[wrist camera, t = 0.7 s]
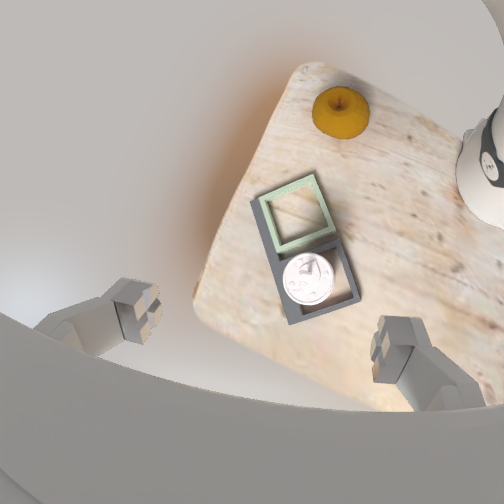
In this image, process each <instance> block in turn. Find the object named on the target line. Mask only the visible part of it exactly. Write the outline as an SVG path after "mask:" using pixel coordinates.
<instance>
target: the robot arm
mask: <svg viewBox="0 0 504 504" xmlns="http://www.w3.org/2000/svg"><path fill="white" fill-rule="evenodd" d="M482 1H483V2H484V4H485V5H486V7H487V8H488V10H489V11H490V13H491V15H492V16H493V18H494V21H495V23H496V25H497V27H498V29H499V32H500V35H501V37H502V40H503V44H504V0H482ZM456 179H457V184H458V188H459V191H460V194H461V196H462V198H463V200H464V202H465V203H466V205H467V206H468V208H469V209H470V210H471V211H472V212H473V213H474V214H475V215H476V216H477V217H478V218H479V219H481V220H482V221H484V222H486V223H488V224H490V225H494V226H497V227H500V228H502V229H503V230H504V96H503V98H502V101H501V103H500V106H499V107H498V108H497V109H495V110H494V111H493V113H492V114H491V115H490V116H489V118H488V119H486V120H485V119H482V120H481V121H480V122H479V123H478V125H477V127H476V128H475V129H472V130H467V131H466V132H465V133H464V136H463V150H462V152H461V154H460V156H459V158H458V161H457V166H456ZM159 294H160V293H159V288H158V286H157V285H156V284H154V283H149V282H145V281H140V280H135V279H130V278H125V277H124V278H121V279H119V280H118V281H117V282H116V283H115V284H114V285H113V286H112V287H111V288H110V289H109V290H108V291H107V292H105V293H104V294H103V295H102V296H101V297H100V298H99V297H96V298H93V299H90V300H87V301H84V302H82V303H79V304H76V305H73V306H70V307H68V308H65V309H62V310H59V311H56V312H53V313H50V314H48V315H47V316H46V317H45V318H44V319H43V320H42V321H41V322H40V323H39V324H38V325H37V326H36V327H34V328H33V329H31V328H29V327H27V326H25V325H23V324H21V323H19V322H17V321H15V320H14V319H12V318H10V317H8V316H6V315H4V314H2V313H0V504H504V404H499V405H492V406H486V404H485V401H484V398H483V396H482V393H481V390H480V387H479V384H478V383H477V382H476V381H475V380H474V379H473V378H472V377H470V376H469V375H468V374H467V373H466V372H465V371H463V370H462V369H461V368H460V367H459V366H458V365H456V364H455V363H454V362H453V361H452V360H451V359H449V358H448V357H447V356H446V355H445V354H444V353H442V352H441V351H440V350H439V349H438V348H436V347H432V345H431V342H430V339H429V337H428V334H427V331H426V329H425V326H424V323H423V321H422V319H421V318H420V317H400V316H387V315H381V317H380V318H379V321H378V324H377V325H378V330H379V331H377V332H376V333H375V334H374V336H373V339H372V343H371V350H370V355H371V360H372V361H373V362H374V365H373V367H372V372H373V381H374V383H387V384H396V386H397V388H398V389H399V390H400V392H401V393H402V394H403V396H404V397H405V398H406V400H407V401H408V402H409V404H410V405H411V406H412V408H413V409H414V410H415V412H366V411H346V410H332V409H321V408H311V407H303V406H295V405H286V404H280V403H273V402H267V401H261V400H255V399H249V398H244V397H238V396H233V395H228V394H223V393H219V392H213V391H210V390H205V389H201V388H197V387H193V386H189V385H185V384H181V383H177V382H174V381H170V380H166V379H163V378H159V377H156V376H152V375H149V374H146V373H143V372H140V371H136V370H133V369H130V368H127V367H124V366H121V365H118V364H115V363H113V362H110V361H107V360H104V359H102V358H99V357H98V356H99V355H101V354H103V353H105V352H106V351H108V350H110V349H112V348H113V347H115V346H117V345H118V344H120V343H122V342H124V340H127V341H131V342H135V343H139V344H142V345H143V344H144V343H145V342H146V340H147V339H148V337H149V336H150V335H151V332H150V329H152V328H154V327H156V326H157V325H158V323H159V322H160V319H161V315H162V306H161V303H160V301H159V300H158V299H157V297H158V295H159Z"/></svg>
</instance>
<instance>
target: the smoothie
mask: <svg viewBox="0 0 504 504" xmlns="http://www.w3.org/2000/svg"><path fill="white" fill-rule="evenodd" d="M334 284H335V275H334V270H333V268H332V266H331V264H330V263H329V262H328V261H327V259H325V258H324V257H322V256H321V255H318V254H315V253H302V254H299V255H297V256H295V257H294V258H293V259H291V260H290V261H289V263H288V264H287V266H286V267H285V270H284V273H283V285H284V289H285V291H286V293H287V294H288V296H289V297H290V298H291V299H292V300H294V301H295V302H297V303H300V304H303V305H314V304H318V303H320V302H322V301H324V300H325V299H326V298H327V297H328V296H329V295H330V293H331V292H332V290H333V287H334Z"/></svg>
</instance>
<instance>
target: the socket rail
mask: <svg viewBox="0 0 504 504" xmlns="http://www.w3.org/2000/svg"><path fill="white" fill-rule="evenodd" d="M309 184H312V186H313V188H314V191H315V193H316V196H317V198H318V201H319V203H320V206H321V208H322V211H323V213H324V216H325V218H326V221H327V224H328V226H329V227H327V228H324V229H322V230H319V231H317V232H314V233H312V234H309V235H307V236H304V237H302V238H299V239H297V240H294V241H292V242H289V243H287V244H284V245H282V244H281V241H280V238H279V235H278V232H277V229H276V226H275V223H274V220H273V217H272V214H271V211H270V208H269V206H268V202H270V201H272V200H275V199H277V198H279V197H281V196H284V195H286V194H288V193H291V192H293V191H295V190H298V189H300V188H302V187H305V186H307V185H309ZM250 204H251V207H252V210H253V213H254V216H255V219H256V223H257V226H258V229H259V232H260V235H261V238H262V241H263V244H264V248H265V251H266V254H267V257H268V260H269V263H270V266H271V270H272V273H273V276H274V279H275V282H276V285H277V289H278V292H279V295H280V298H281V301H282V305H283V308H284V311H285V314H286V318H287V321H288V324H289V325H292V324H295V323H298V322H301V321H304V320H308V319H311V318H314V317H317V316H320V315H323V314H326V313H329V312H332V311H335V310H337V309H340V308H343V307H346V306H349V305H352V304H354V303H357V302H360V301H361V299H360V296H359V293H358V290H357V287H356V284H355V281H354V278H353V275H352V272H351V269H350V266H349V264H348V261H347V258H346V255H345V252H344V250H343V247H342V244H341V242H340V239H336V240H334V241H331V242H329V243H326V244H324V245H321V246H318V247H316V248H313V249H311V250H308V251H306V252H303V253H315V254H320V253H323V252H325V251H328V250H330V249H333V248H337V250H338V253H339V256H340V259H341V262H342V264H343V267H344V270H345V273H346V276H347V279H348V282H349V285H350V288H351V291H352V294H353V297H354V298H352V299H349V300H346V301H344V302H341V303H338V304H335V305H332V306H329V307H326V308H323V309H320V310H318V311H315V312H312V313H309V314H305V315H304V312H303V308H302V305H301V304H300V303H297V302H295V301H294V300H292V299H291V298H290V297H289V296H288V294H287V293H286V291H285V289H284V285H283V273H284V270H285V267H286V266H287V264H288V263H289V261H290V260H291V259H293V258H294V257H295V256H297V255H295V256H293V257H290V258H288V259H285V260H281V256H280V254H281V253H284V252H286V251H289V250H291V249H294V248H297V247H299V246H302V245H304V244H307V243H309V242H312V241H314V240H317V239H319V238H322V237H324V236H327V235H330V234H332V233H335V232H337V231H336V228H335V226H334V223H333V221H332V218H331V215H330V213H329V210H328V208H327V205H326V203H325V201H324V198H323V196H322V193H321V191H320V188H319V186H318V184H317V181H316V179H315V177H314V175H313V174H311V175H309V176H307V177H304V178H302V179H300V180H297V181H295V182H293V183H290V184H288V185H286V186H284V187H281V188H279V189H277V190H275V191H272V192H270V193H268V194H266V195H263V196H261V197H259V198H257V199H255V200H252V201H250ZM300 254H302V253H300ZM298 255H299V254H298Z"/></svg>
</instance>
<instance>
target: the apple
mask: <svg viewBox="0 0 504 504" xmlns="http://www.w3.org/2000/svg"><path fill="white" fill-rule="evenodd" d="M369 116H370V113H369V106H368V103H367V101H366V100H365V98H364V97H363V96H362V95H361V94H360V93H359V92H357V91H355V90H352V89H350V88H348V87H339V86H337V87H333V88H330V89H328V90H326V91H324V92H323V93H321V94H320V95H319V96H318V97H317V98H316V100H315V102H314V105H313V110H312V118H313V123H314V124H315V126H316V127H317V128H318V129H319V130H320V131H322V132H323V133H325V134H327V135H330V136H332V137H335V138H338V139H351V138H355V137H356V136H358V135H360V134H361V133H362V132H363V131H364V130H365V129H366V127H367V126H368V122H369Z"/></svg>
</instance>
